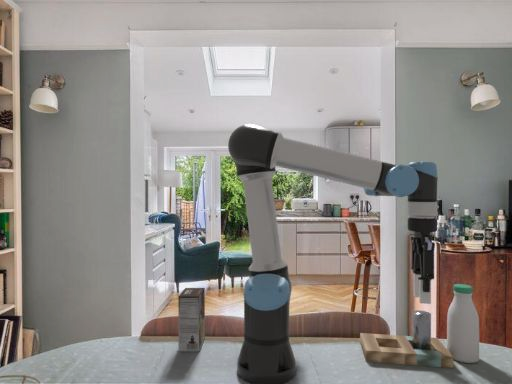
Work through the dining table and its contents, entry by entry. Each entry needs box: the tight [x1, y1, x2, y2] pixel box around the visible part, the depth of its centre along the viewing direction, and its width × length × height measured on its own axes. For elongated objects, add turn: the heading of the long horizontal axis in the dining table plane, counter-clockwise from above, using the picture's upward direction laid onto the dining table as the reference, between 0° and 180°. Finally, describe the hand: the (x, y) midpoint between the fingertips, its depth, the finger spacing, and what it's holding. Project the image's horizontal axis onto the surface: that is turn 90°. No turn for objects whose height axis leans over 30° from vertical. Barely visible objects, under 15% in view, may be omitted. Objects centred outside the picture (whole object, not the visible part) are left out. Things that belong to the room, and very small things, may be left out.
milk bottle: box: [446, 283, 480, 364], centre depth 98 cm, size 8×8×20 cm
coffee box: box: [177, 287, 206, 352], centre depth 105 cm, size 9×6×16 cm
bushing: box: [412, 310, 432, 350], centre depth 98 cm, size 5×5×12 cm
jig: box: [359, 332, 454, 369], centre depth 99 cm, size 22×12×3 cm, turn 81°
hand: (422, 299), depth 98 cm, fingers open, 5 cm apart
